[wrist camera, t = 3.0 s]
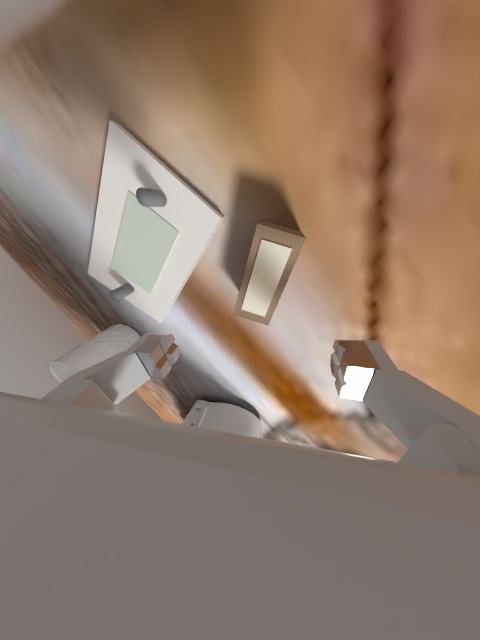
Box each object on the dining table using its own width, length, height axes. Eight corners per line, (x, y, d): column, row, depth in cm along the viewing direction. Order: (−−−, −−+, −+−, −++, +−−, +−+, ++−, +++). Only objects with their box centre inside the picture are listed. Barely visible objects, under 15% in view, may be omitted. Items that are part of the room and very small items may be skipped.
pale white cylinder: (146, 358, 35) (104, 405, 27) (110, 343, 35) (56, 384, 27) (148, 332, 31) (99, 377, 22) (106, 313, 30) (41, 353, 22)
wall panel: (164, 319, 28) (149, 333, 25) (95, 271, 26) (69, 280, 23) (224, 217, 18) (212, 219, 15) (120, 124, 16) (80, 104, 13)
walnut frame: (270, 304, 23) (268, 326, 19) (242, 294, 23) (233, 314, 19) (300, 230, 18) (305, 238, 13) (263, 219, 18) (257, 223, 14)
